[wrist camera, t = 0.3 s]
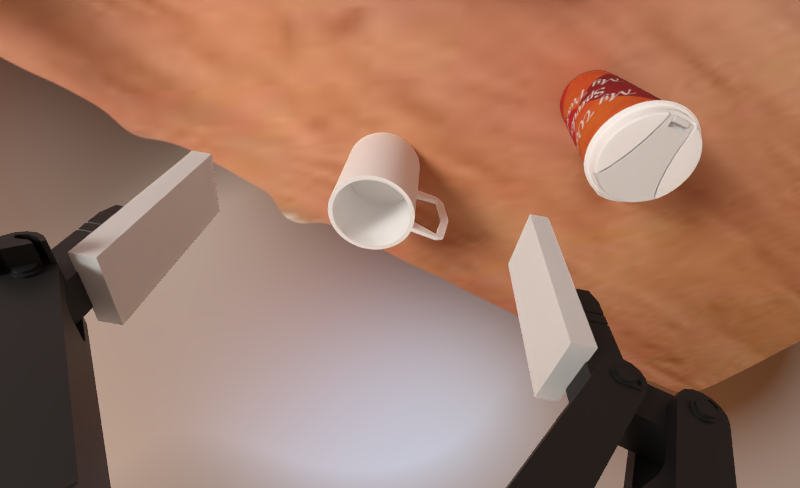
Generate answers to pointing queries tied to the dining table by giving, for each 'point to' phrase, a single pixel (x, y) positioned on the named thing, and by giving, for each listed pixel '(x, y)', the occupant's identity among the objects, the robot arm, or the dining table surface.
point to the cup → (381, 194)
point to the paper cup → (629, 137)
